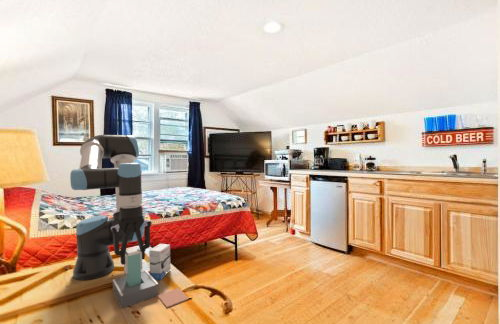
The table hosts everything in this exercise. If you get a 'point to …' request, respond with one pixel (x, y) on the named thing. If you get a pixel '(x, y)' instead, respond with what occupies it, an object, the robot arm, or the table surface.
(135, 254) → the teal tall block
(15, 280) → the table surface
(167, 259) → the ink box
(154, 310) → the table surface
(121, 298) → the grey socket base
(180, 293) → the mat
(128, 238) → the robot arm
